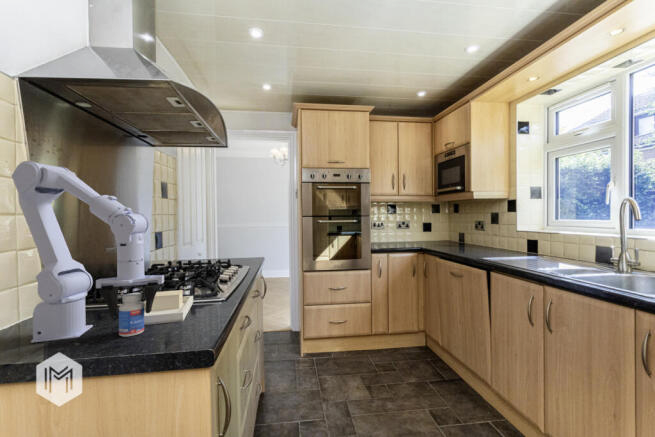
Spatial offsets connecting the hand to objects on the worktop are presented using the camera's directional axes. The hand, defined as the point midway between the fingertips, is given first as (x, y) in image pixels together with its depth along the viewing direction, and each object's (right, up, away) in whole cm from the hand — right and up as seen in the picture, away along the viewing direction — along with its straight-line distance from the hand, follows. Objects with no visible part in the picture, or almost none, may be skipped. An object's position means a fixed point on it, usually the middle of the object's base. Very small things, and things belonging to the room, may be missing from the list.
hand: (131, 313), depth 74 cm
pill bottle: (0, -5, 0) cm, 5 cm away
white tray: (0, -5, +15) cm, 15 cm away
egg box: (-1, -4, +19) cm, 19 cm away
